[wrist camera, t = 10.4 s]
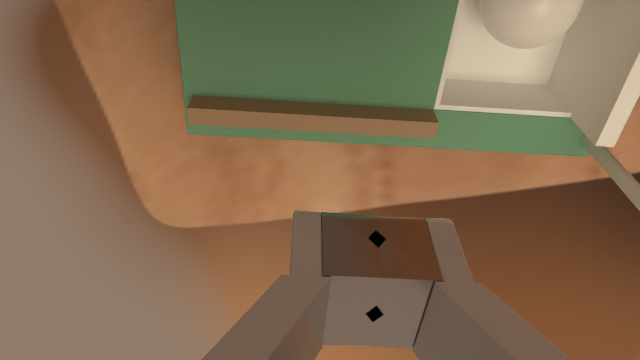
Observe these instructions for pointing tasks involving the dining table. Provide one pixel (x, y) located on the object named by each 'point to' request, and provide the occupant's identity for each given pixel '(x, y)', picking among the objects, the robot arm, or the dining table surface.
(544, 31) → the ball
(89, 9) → the dining table surface
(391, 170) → the dining table surface
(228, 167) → the dining table surface
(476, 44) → the mini golf course
